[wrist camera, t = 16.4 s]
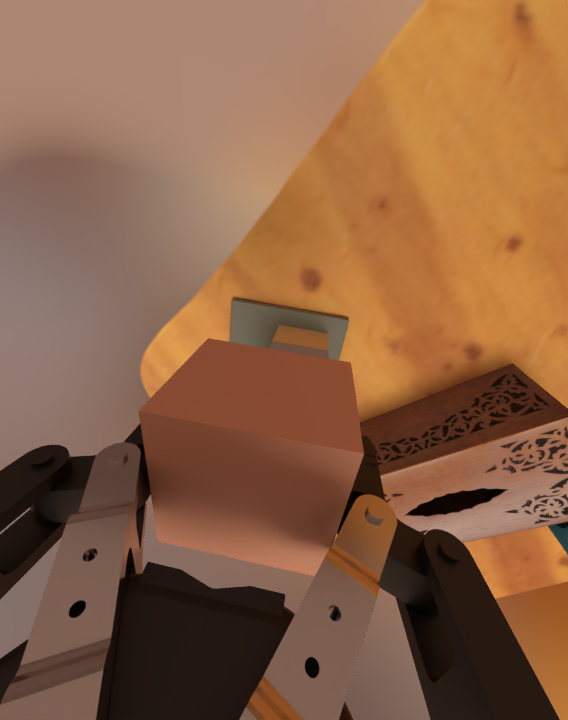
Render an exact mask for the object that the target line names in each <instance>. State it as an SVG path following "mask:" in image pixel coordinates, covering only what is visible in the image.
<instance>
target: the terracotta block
mask: <svg viewBox="0 0 568 720" xmlns="http://www.w3.org/2000/svg"><path fill="white" fill-rule="evenodd" d="M139 416H140V423H141V430H142V437H143V443H144V450H145V457H146V463H147V470H148V477H149V483H150V490H151V496H152V504H153V510H154V517H155V523H156V530H157V537H158V541H159V542H164V543H168V544H172V545H177V546H181V547H187V548H190V549H195V550H200V551H204V552H209V553H213V554H218V555H222V556H227V557H232V558H236V559H240V560H245V561H249V562H254V563H259V564H263V565H268V566H272V567H276V568H281V569H286V570H290V571H294V572H299V573H303V574H308V575H313V576H315V575H316V573H317V571H318V569H319V567H320V565H321V563H322V562H323V560H324V558H325V556H326V554H327V552H328V550H329V549H330V548H331V547H332V545H333V542H334V540H335V537H336V534H337V531H338V528H339V525H340V522H341V519H342V516H343V513H344V510H345V508H346V505H347V502H348V499H349V496H350V493H351V490H352V487H353V484H354V481H355V479H356V476H357V473H358V470H359V467H360V464H361V461H362V458H363V455H364V450H363V443H362V437H361V430H360V423H359V416H358V409H357V402H356V395H355V388H354V381H353V374H352V367H351V363H350V362H344V361H338V360H332V359H326V358H320V357H314V356H308V355H302V354H297V353H291V352H285V351H279V350H273V349H267V348H261V347H255V346H250V345H244V344H238V343H232V342H226V341H220V340H214V339H207V340H206V341H205V342H204V343H203V344H202V345H201V346H200V347H199V349H198V350H197V351H196V352H195V353H194V354H193V355H192V356H191V357H190V358H189V359H188V360H187V361H186V362H185V363H184V364H183V365H182V366H181V367H180V368H179V369H178V370H177V371H176V372H175V374H174V375H173V376H172V377H171V378H170V379H169V380H168V381H167V382H166V383H165V384H164V385H163V386H162V387H161V388H160V389H159V390H158V391H157V392H156V393H155V394H154V395H153V396H152V397H151V399H150V400H149V401H148V402H147V403H146V404H145V405H144V406H143V407H142V408H141V409H140V410H139Z"/></svg>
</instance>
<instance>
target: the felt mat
mask: <svg viewBox="0 0 568 720" xmlns="http://www.w3.org/2000/svg"><path fill="white" fill-rule="evenodd" d="M348 322H349V318H347V317H341V316H335V315H330V314H324V313H318V312H312V311H306V310H300V309H295V308H289V307H283V306H277V305H271V304H265V303H260V302H254V301H248V300H242V299H236V298H234V299H233V300H232V308H231V328H230V342H232V343H238V344H244V345H250V346H255V347H261V348H267V349H269V347H270V345H271V343H272V340H273V338H274V335H275V333H276V331H277V329H278V326H279V325H284V326H290V327H295V328H301V329H307V330H312V331H318V332H324V333H328V350H329V359H332V360H338V361H339V358H340V354H341V350H342V346H343V342H344V338H345V334H346V330H347V326H348Z"/></svg>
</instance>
